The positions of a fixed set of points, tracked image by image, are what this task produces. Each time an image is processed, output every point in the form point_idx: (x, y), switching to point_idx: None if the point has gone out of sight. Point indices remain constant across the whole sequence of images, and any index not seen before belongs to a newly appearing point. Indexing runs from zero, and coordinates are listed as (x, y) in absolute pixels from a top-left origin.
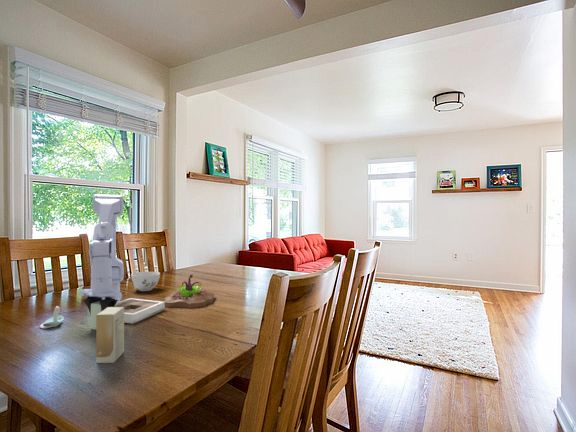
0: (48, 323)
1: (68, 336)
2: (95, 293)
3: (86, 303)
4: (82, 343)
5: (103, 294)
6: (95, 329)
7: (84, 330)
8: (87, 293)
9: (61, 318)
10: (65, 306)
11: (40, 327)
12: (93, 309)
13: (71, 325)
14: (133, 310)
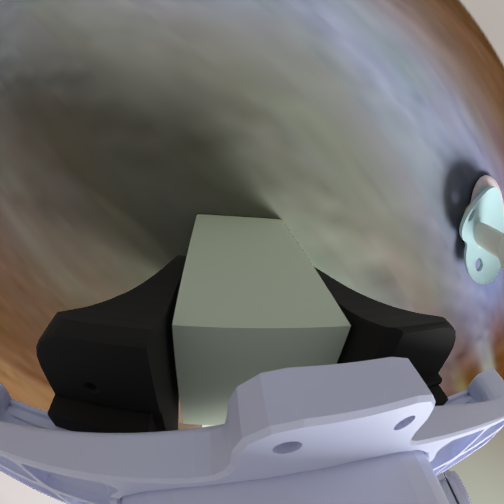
0: (489, 187)
1: (318, 83)
2: (263, 480)
3: (402, 313)
4: (142, 22)
5: (75, 458)
6: (241, 217)
7: (301, 189)
8: (461, 411)
9: (475, 269)
10: (485, 364)
11: (494, 180)
12: (291, 288)
13: (415, 240)
14: (191, 424)
